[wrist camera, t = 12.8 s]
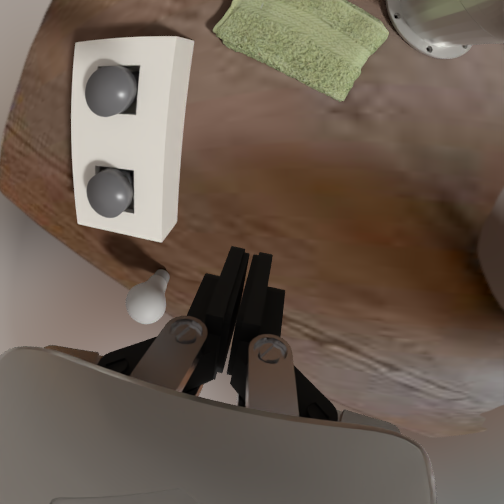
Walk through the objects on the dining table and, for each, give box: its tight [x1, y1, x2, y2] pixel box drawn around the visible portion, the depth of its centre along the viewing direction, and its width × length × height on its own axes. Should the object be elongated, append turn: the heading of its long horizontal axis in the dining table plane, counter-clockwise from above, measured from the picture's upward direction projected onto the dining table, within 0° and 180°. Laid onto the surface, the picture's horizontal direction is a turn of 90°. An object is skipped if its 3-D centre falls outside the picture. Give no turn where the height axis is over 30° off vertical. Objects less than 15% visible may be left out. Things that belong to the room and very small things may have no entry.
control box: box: [71, 36, 194, 243], centre depth 37 cm, size 26×14×6 cm, turn 171°
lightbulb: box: [126, 269, 170, 324], centre depth 47 cm, size 6×6×11 cm
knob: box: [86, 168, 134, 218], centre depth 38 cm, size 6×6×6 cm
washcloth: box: [213, 0, 389, 102], centre depth 29 cm, size 13×18×3 cm
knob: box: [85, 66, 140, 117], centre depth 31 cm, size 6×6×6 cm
